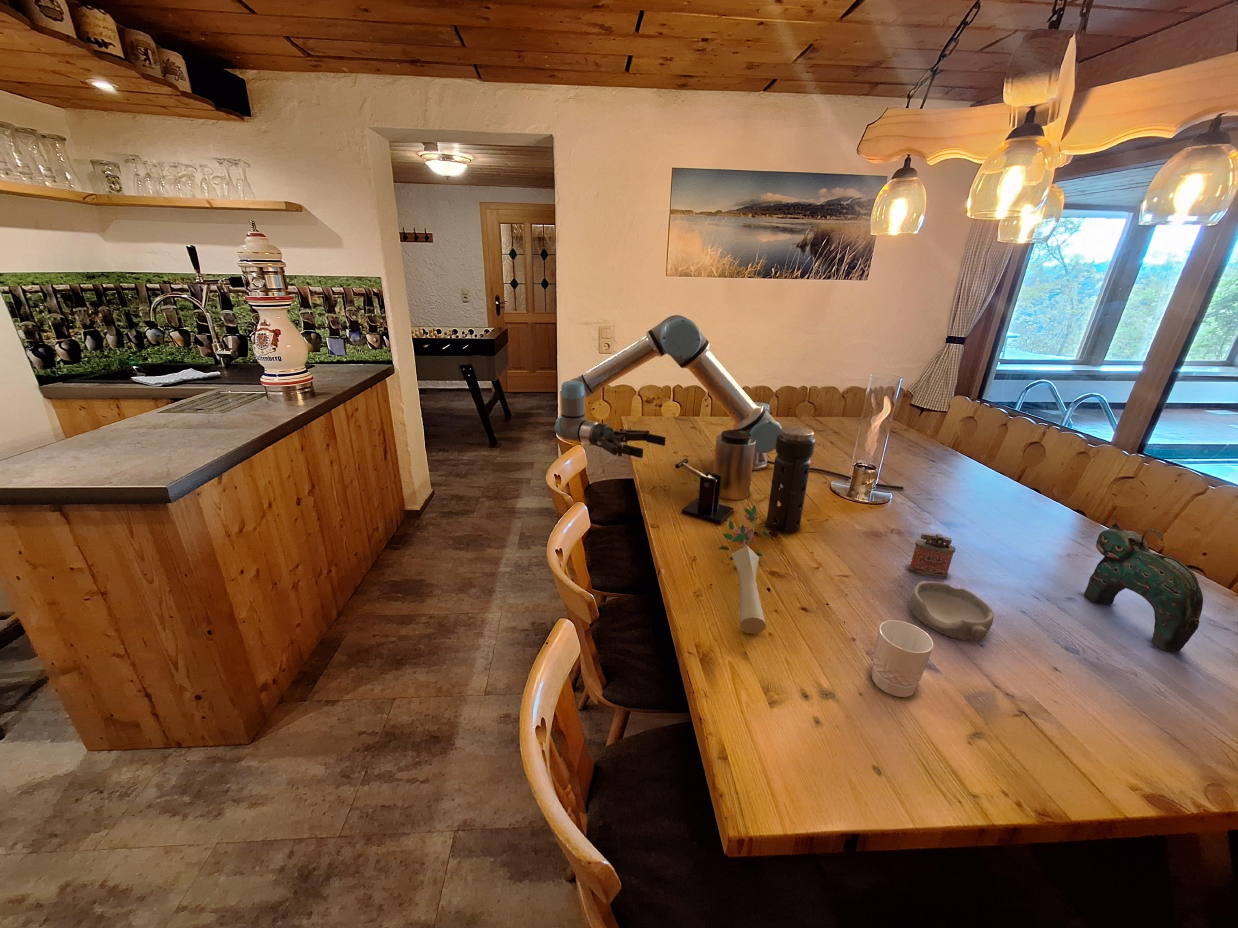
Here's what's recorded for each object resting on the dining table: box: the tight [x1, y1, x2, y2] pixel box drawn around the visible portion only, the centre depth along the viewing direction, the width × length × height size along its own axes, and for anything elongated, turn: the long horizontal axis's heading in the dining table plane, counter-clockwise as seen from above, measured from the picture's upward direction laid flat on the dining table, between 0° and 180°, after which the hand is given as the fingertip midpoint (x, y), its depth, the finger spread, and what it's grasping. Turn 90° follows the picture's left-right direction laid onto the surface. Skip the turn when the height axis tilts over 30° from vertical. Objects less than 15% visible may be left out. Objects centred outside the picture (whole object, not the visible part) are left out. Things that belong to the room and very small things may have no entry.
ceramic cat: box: [1083, 522, 1204, 652], centre depth 97 cm, size 20×6×20 cm, turn 178°
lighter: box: [908, 532, 956, 579], centre depth 114 cm, size 8×3×10 cm, turn 71°
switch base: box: [681, 471, 735, 526], centre depth 141 cm, size 12×10×12 cm
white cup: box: [870, 619, 935, 698], centre depth 83 cm, size 8×8×10 cm
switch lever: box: [674, 458, 718, 482], centre depth 142 cm, size 12×6×2 cm, turn 57°
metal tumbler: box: [712, 429, 756, 501], centre depth 154 cm, size 12×12×20 cm
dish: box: [909, 580, 995, 641], centre depth 99 cm, size 14×14×5 cm
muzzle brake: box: [765, 425, 816, 534], centre depth 131 cm, size 10×28×10 cm
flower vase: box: [718, 504, 772, 635], centre depth 110 cm, size 12×12×35 cm
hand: (654, 447), depth 147 cm, fingers open, 13 cm apart
